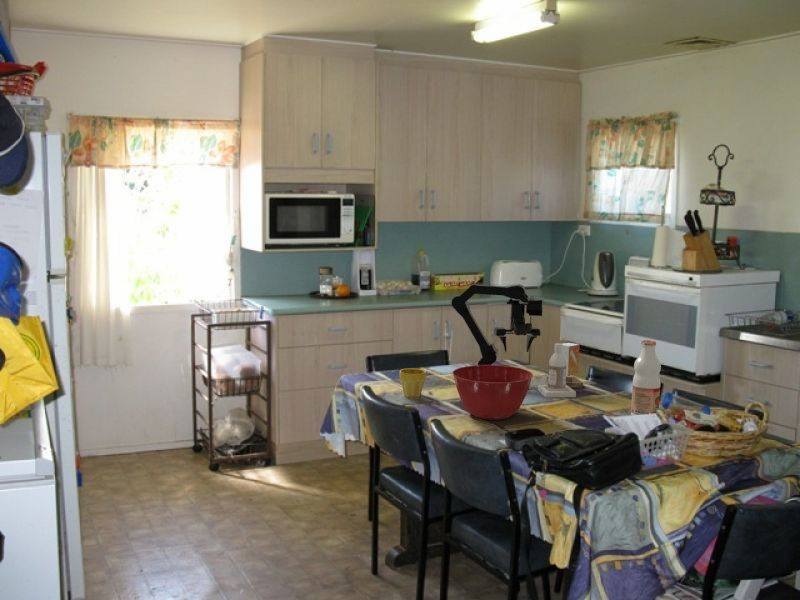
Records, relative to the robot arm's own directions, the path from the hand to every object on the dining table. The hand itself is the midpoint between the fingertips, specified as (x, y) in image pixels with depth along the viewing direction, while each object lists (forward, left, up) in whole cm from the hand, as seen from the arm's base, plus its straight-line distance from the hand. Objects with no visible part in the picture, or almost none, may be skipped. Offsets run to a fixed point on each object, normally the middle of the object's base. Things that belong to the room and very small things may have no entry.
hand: (516, 351), depth 348 cm
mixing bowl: (-21, -51, -13) cm, 57 cm away
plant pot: (-46, -22, -13) cm, 53 cm away
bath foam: (+12, -20, -13) cm, 26 cm away
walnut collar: (+20, -4, -13) cm, 24 cm away
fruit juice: (+33, -58, -13) cm, 68 cm away
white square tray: (+12, -20, -13) cm, 27 cm away
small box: (+28, +18, -13) cm, 36 cm away
